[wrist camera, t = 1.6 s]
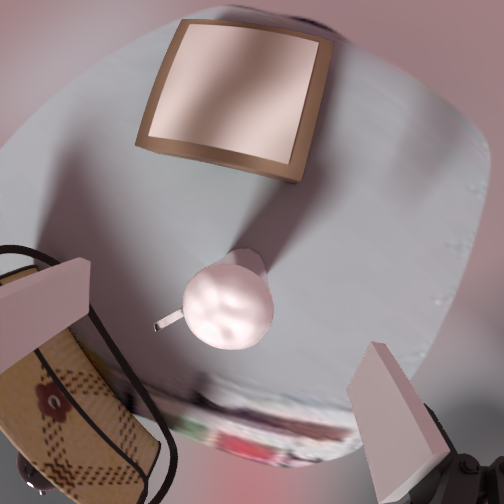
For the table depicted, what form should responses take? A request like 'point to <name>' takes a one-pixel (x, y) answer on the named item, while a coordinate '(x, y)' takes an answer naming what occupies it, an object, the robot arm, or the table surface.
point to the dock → (238, 97)
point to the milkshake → (227, 302)
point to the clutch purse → (78, 417)
